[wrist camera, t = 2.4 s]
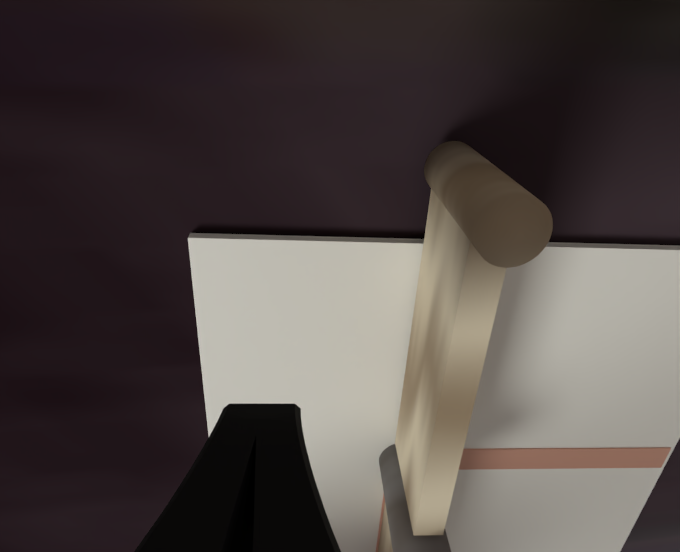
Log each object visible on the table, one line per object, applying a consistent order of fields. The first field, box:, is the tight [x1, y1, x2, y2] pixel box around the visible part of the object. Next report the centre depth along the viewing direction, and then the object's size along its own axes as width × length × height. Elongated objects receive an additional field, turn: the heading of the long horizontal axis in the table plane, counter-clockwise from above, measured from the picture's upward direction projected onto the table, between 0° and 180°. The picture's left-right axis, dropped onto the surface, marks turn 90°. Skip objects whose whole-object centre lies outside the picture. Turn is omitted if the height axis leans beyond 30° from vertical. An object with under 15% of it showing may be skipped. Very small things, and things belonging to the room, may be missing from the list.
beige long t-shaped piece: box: [395, 141, 553, 536], centre depth 14 cm, size 12×2×5 cm, turn 177°
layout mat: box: [188, 233, 680, 552], centre depth 21 cm, size 20×20×1 cm
